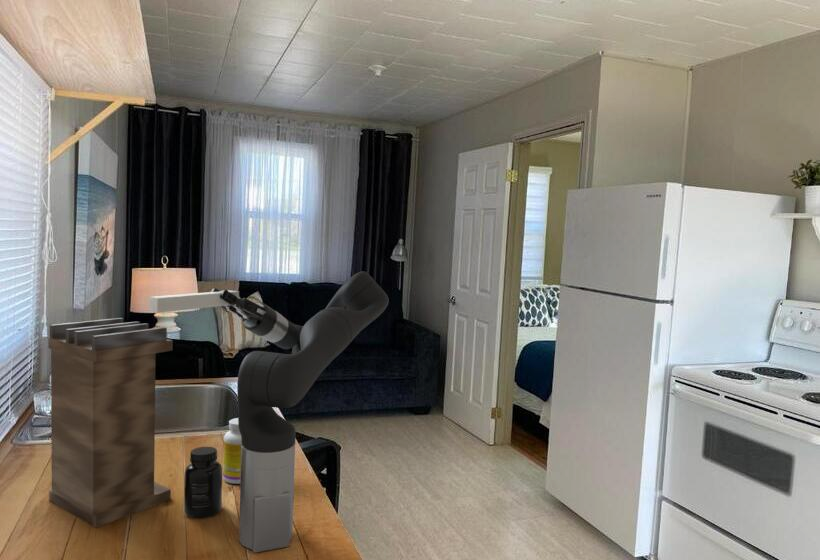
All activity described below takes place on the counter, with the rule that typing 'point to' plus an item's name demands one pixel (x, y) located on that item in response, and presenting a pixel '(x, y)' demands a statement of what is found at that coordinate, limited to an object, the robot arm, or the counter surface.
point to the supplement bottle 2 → (232, 453)
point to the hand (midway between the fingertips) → (217, 292)
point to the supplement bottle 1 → (203, 484)
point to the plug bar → (187, 301)
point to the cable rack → (104, 418)
